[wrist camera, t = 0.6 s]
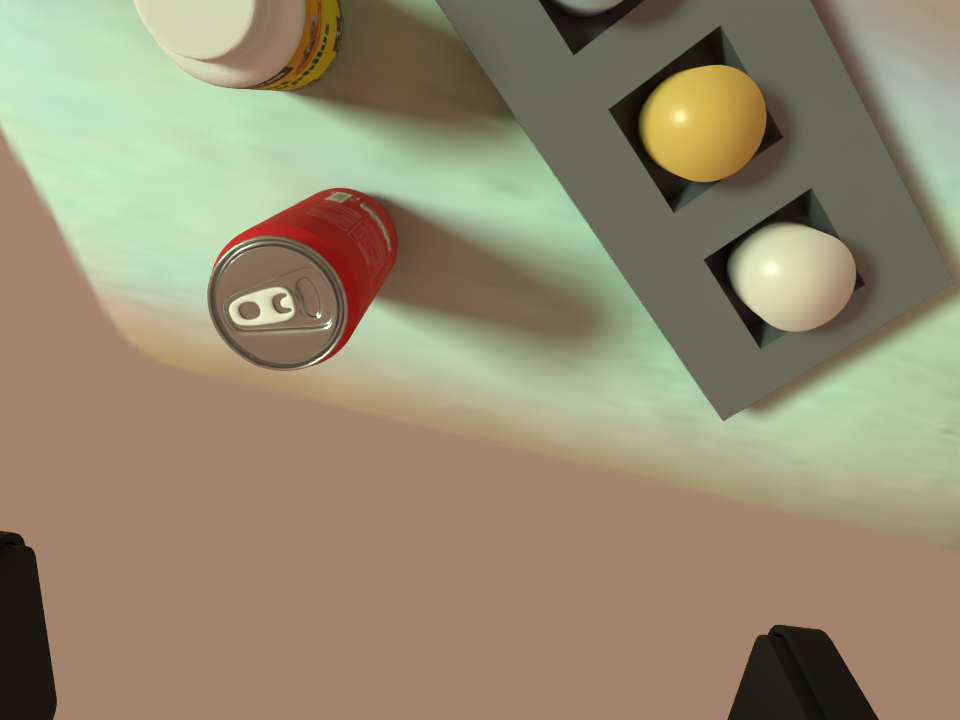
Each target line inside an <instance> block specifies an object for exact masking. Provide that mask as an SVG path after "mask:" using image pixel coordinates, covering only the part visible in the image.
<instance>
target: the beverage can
mask: <svg viewBox="0 0 960 720" xmlns="http://www.w3.org/2000/svg"><path fill="white" fill-rule="evenodd" d="M396 254H397V237H396V232H395V228H394V226H393V223H392V221H391V219H390V217H389V216H388V214H387V213H386V211H385V210H384V209H383V208H382V207H381V205H380V204H378V203H377V202H376V201H375V200H374V199H372V198H371V197H369V196H368V195H366V194H364V193H362V192H359V191H356V190H352V189H347V188H333V189H327V190H324V191H321V192H319V193H317V194H315V195H313V196H311V197H309V198H307V199H305V200H303V201H301V202H299V203H297V204H296V205H294V206H292V207H290V208H288V209H286V210H284V211H282V212H280V213H279V214H277V215H275V216H273V217H271V218H269V219H267V220H265V221H263V222H261V223H260V224H258V225H256V226H254V227H252V228H250V229H248V230H246V231H244V232H243V233H241V234H239V235H238V236H236V237H235V238H234V239H233V240H231V241H230V242H229V243H228V244H227V245H226V246H225V248H224V249H223V250H222V252H221V253H220V254H219V256H218V258H217V260H216V262H215V264H214V267H213V270H212V274H211V277H210V280H209V285H208V307H209V312H210V316H211V319H212V321H213V324H214V326H215V328H216V330H217V332H218V333H219V335H220V336H221V338H222V339H223V340H224V342H225V343H226V344H227V345H228V346H229V347H230V348H231V349H232V350H233V351H234V352H235V353H237V354H238V355H239V356H241V357H242V358H244V359H245V360H247V361H248V362H250V363H252V364H254V365H256V366H258V367H262V368H266V369H271V370H278V371H291V370H299V369H303V368H306V367H309V366H313V365H316V364H319V363H321V362H323V361H325V360H327V359H329V358H330V357H332V356H333V355H335V354H336V353H337V352H338V351H339V350H341V349H342V347H343V346H344V345H345V344H346V343H347V341H348V340H349V338H350V337H351V335H352V334H353V332H354V330H355V329H356V327H357V325H358V324H359V322H360V320H361V319H362V317H363V315H364V314H365V312H366V310H367V309H368V307H369V306H370V304H371V302H372V301H373V299H374V297H375V296H376V294H377V292H378V291H379V289H380V287H381V286H382V284H383V282H384V281H385V279H386V277H387V276H388V274H389V272H390V271H391V269H392V267H393V264H394V262H395V258H396Z"/></svg>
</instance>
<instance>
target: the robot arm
mask: <svg viewBox="0 0 960 720" xmlns="http://www.w3.org/2000/svg"><path fill="white" fill-rule="evenodd" d="M56 705H57V698H56V691H55V684H54V678H53V671H52V664H51V657H50V651H49V644H48V637H47V630H46V623H45V617H44V610H43V603H42V597H41V590H40V583H39V576H38V569H37V563H36V556H35V553H34V550H33V549H32V548H31V547H28V546H25V543H24V540H23V538H22V537H21V536H20V535H19V534H16V533H12V532H4V531H0V720H53V717H54V715H55V711H56ZM728 720H879V719H878V718H877V716H876V714H875V713H874V711H873V710H872V708H871V706H870V704H869V703H868V701H867V699H866V697H865V696H864V694H863V692H862V691H861V689H860V687H859V686H858V684H857V682H856V681H855V679H854V677H853V676H852V674H851V672H850V671H849V669H848V667H847V666H846V664H845V662H844V661H843V659H842V657H841V656H840V654H839V652H838V651H837V649H836V647H835V646H834V644H833V642H832V641H831V639H830V638H829V637H828V635H827V634H826V633H825V632H823V631H822V630H818V629H810V628H801V627H793V626H785V625H775V626H773V627H772V628H771V629H770V631H769V633H768V635H759V636H758V637H757V639H756V641H755V643H754V646H753V648H752V651H751V654H750V657H749V660H748V663H747V665H746V668H745V671H744V674H743V677H742V680H741V683H740V686H739V689H738V691H737V694H736V697H735V700H734V703H733V706H732V708H731V711H730V714H729V717H728Z"/></svg>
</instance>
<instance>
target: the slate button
mask: <svg viewBox="0 0 960 720" xmlns="http://www.w3.org/2000/svg"><path fill="white" fill-rule="evenodd" d="M550 1H551V3H552V4H553V5H555V6H556V7H557V8H558V9H560V10H562V11H563V12H565V13H568V14H570V15H574V16H579V17H591V16H596V15H600V14H603V13H605V12H607V11H609V10H611V9H613V8H614V7H615V6H617V5H618V4H619V3H621V2H622V1H623V0H550Z"/></svg>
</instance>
